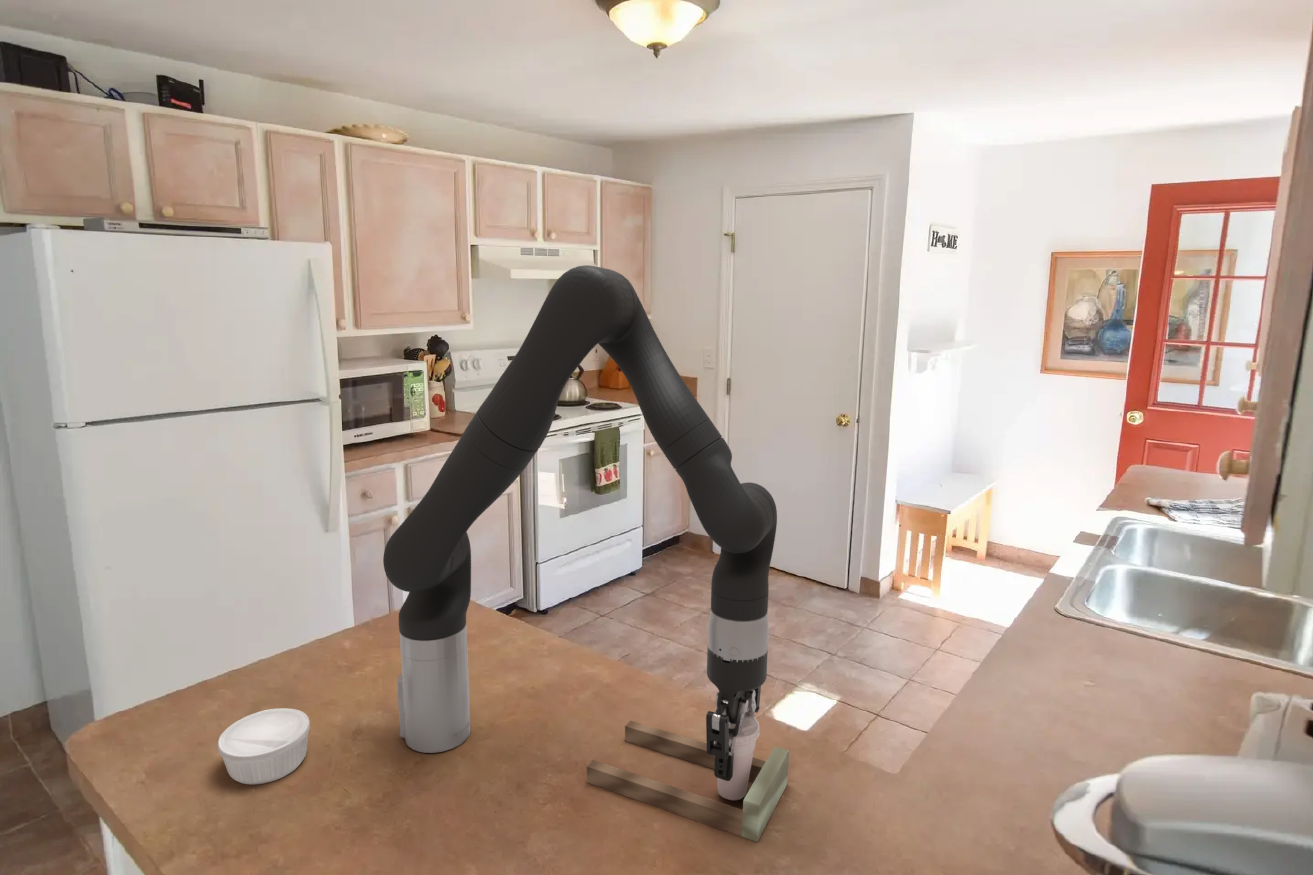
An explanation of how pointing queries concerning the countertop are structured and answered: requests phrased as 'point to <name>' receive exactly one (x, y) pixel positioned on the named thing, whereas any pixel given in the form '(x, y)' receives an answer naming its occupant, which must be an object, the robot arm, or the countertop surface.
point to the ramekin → (265, 745)
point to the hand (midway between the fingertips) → (733, 762)
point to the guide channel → (744, 822)
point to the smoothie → (740, 760)
